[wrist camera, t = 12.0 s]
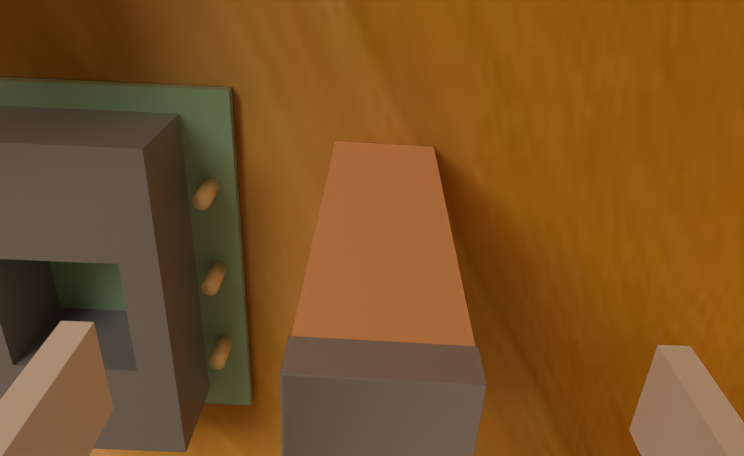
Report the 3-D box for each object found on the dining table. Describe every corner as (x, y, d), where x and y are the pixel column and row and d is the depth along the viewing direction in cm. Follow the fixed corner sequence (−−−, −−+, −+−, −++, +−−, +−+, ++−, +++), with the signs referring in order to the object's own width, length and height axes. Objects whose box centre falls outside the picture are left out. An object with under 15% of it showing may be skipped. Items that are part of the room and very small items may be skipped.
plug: (333, 139, 24) (279, 373, 12) (435, 145, 24) (487, 385, 12) (331, 229, 26) (282, 511, 14) (425, 234, 26) (461, 521, 14)
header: (-78, 73, 23) (-173, 105, 19) (231, 87, 23) (200, 122, 19) (18, 388, 31) (-37, 458, 27) (252, 398, 31) (233, 470, 27)
